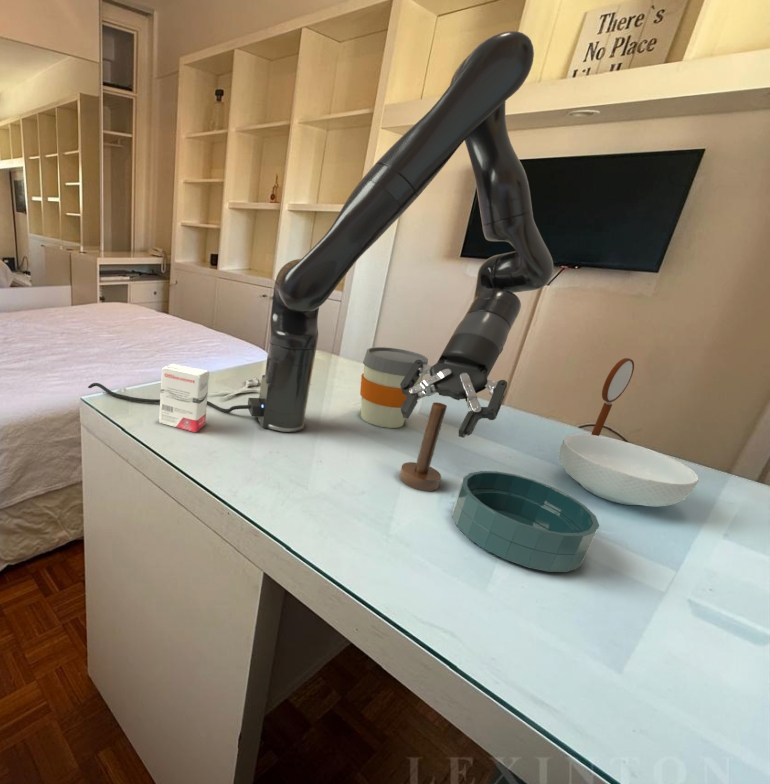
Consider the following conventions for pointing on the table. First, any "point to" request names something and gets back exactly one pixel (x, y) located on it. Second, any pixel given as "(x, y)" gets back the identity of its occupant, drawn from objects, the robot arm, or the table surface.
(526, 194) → the robot arm
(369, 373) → the reusable coffee cup
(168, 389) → the ink box
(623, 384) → the magnifying glass
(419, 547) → the table surface
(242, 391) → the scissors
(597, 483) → the cereal bowl
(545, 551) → the mixing bowl
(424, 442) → the wooden peg stand
